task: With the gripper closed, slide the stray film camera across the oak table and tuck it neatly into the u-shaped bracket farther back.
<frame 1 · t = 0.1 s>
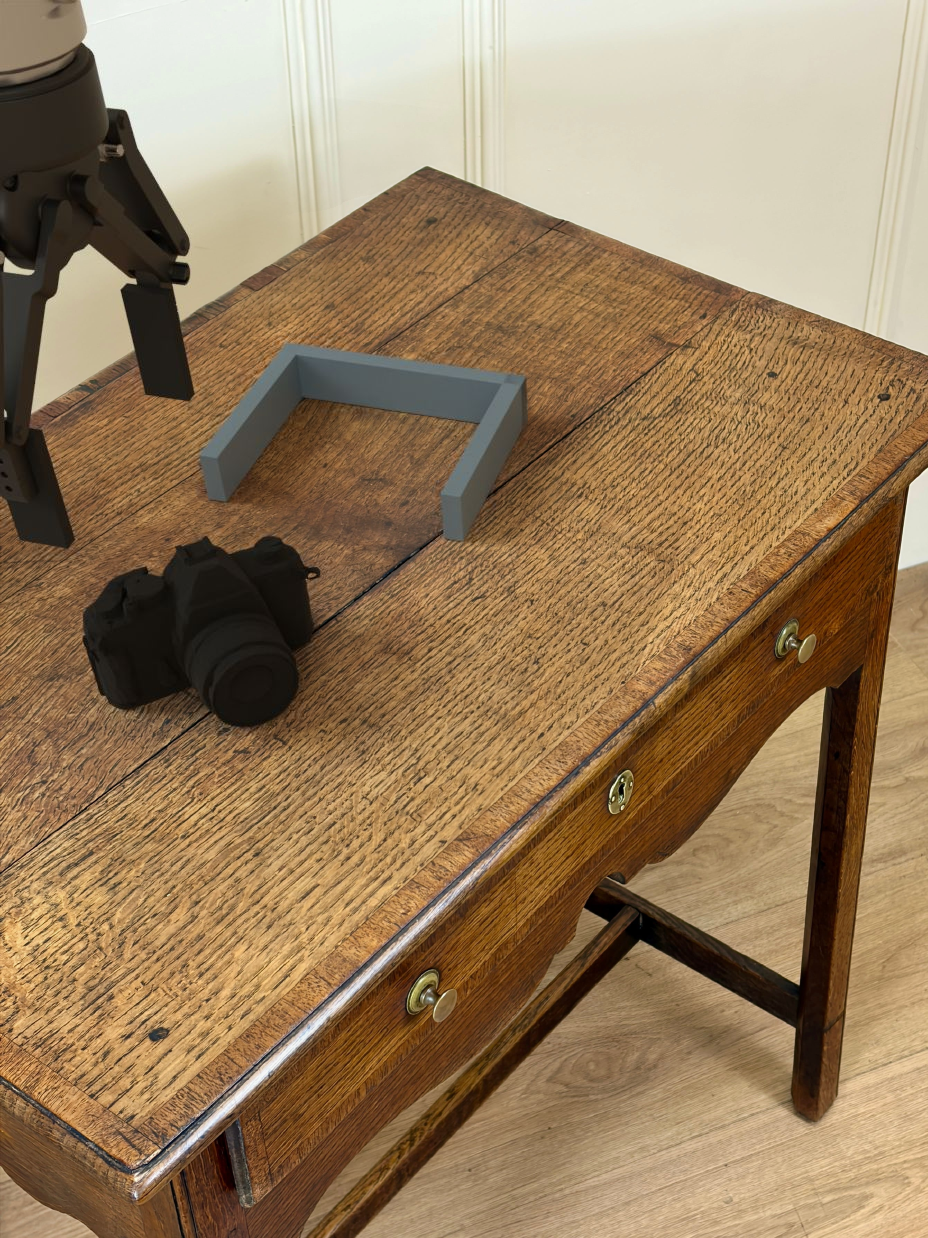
hand: (112, 463, 78), 20 cm above the table, tool pointing down, fingers open, 13 cm apart
film camera: (228, 688, 94), on the table
u-shaped bracket: (372, 458, 112), on the table
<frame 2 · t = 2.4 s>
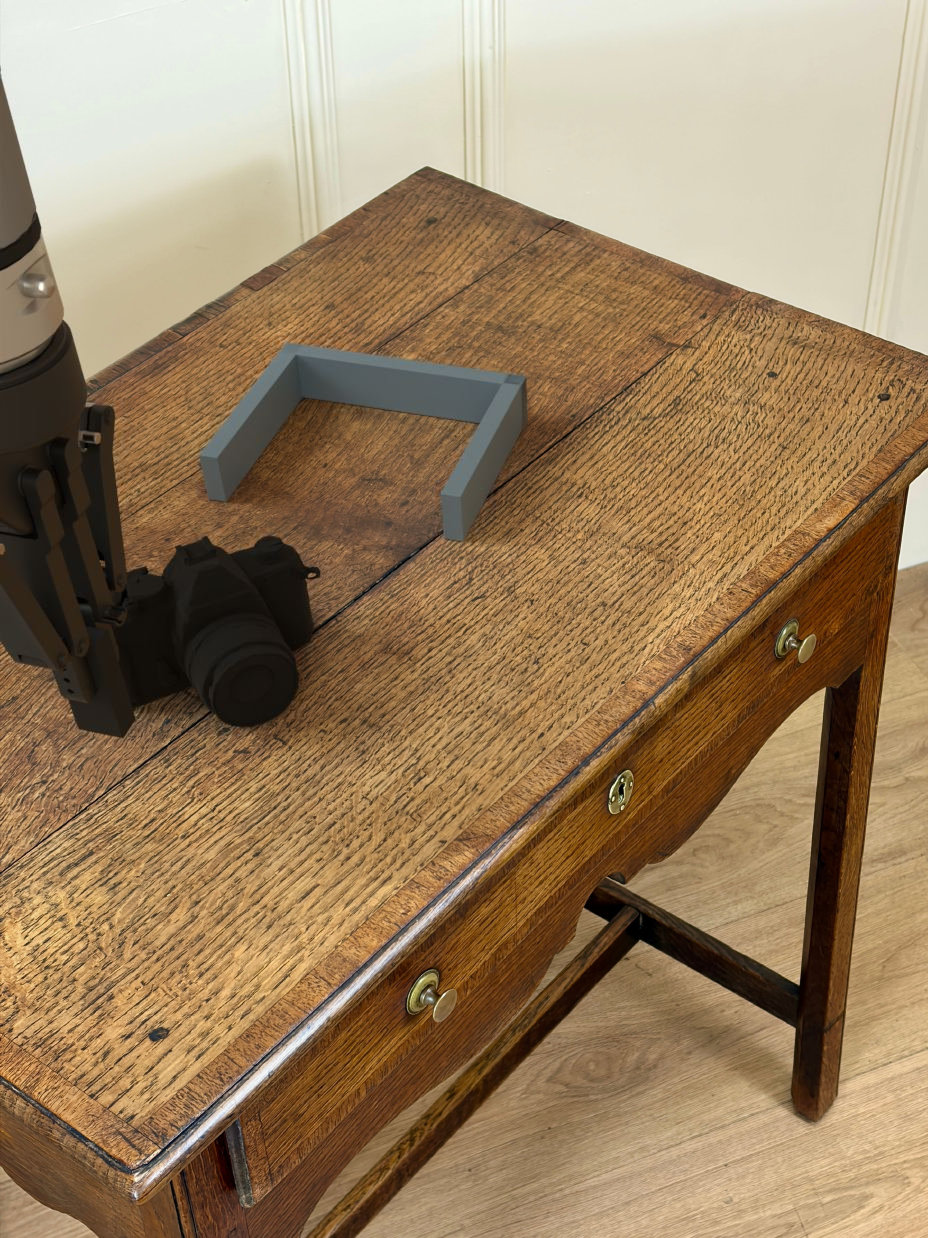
hand: (107, 724, 79), 9 cm above the table, tool pointing down, fingers closed
nothing on the table moved.
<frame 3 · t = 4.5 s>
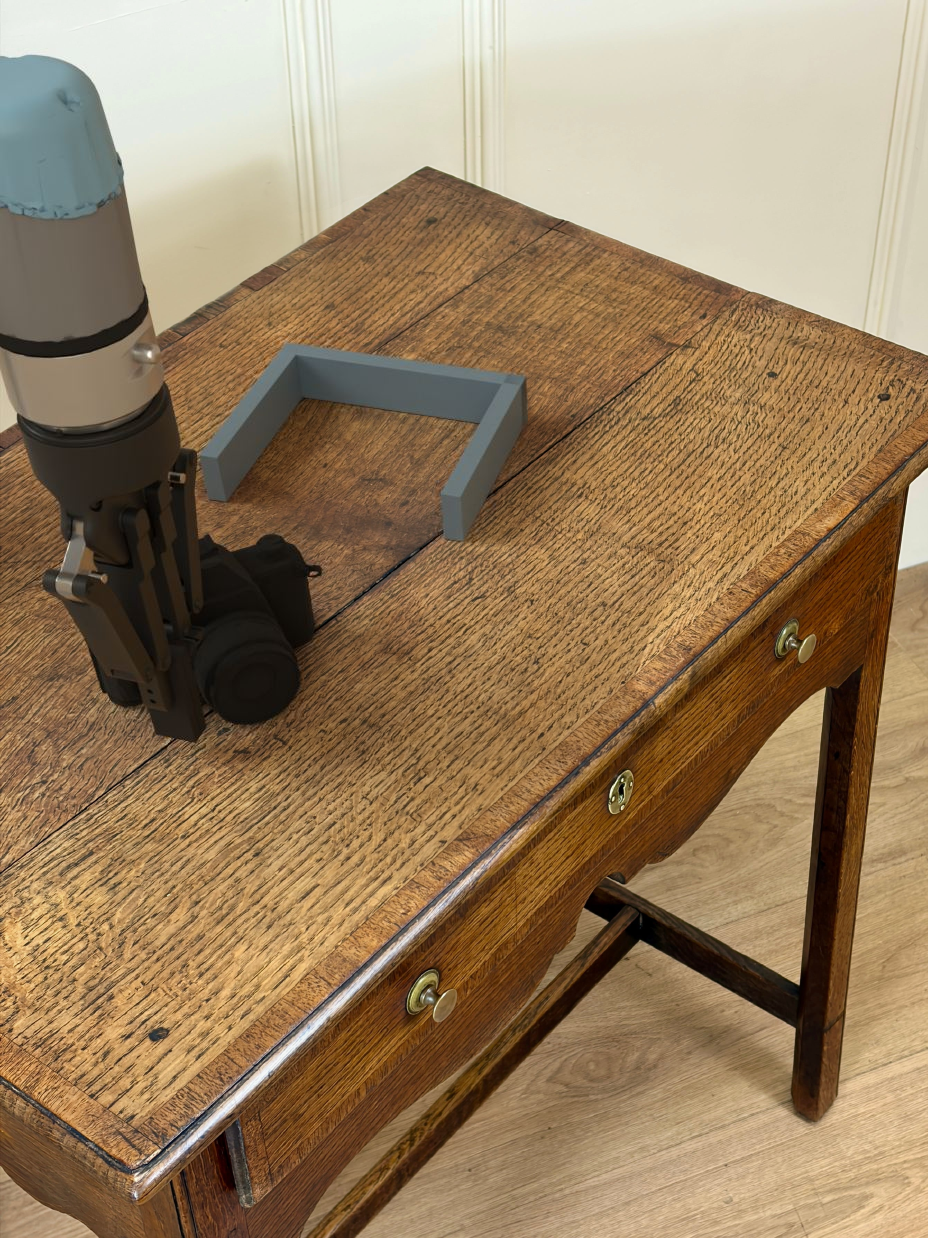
hand: (181, 730, 89), 2 cm above the table, tool pointing down, fingers closed
film camera: (230, 686, 94), on the table, touching gripper
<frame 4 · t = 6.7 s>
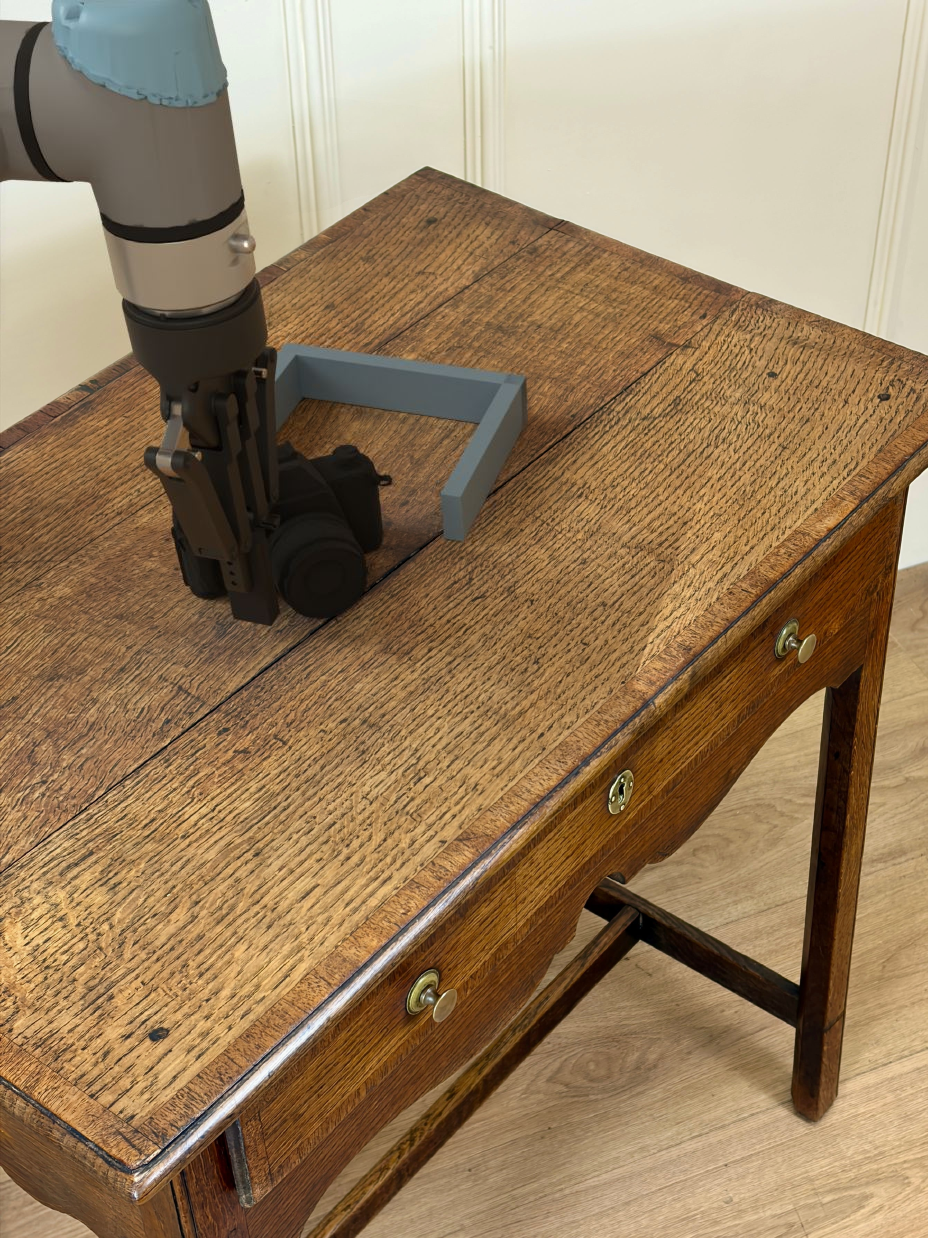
hand: (256, 615, 96), 2 cm above the table, tool pointing down, fingers closed
film camera: (302, 585, 102), on the table, touching gripper
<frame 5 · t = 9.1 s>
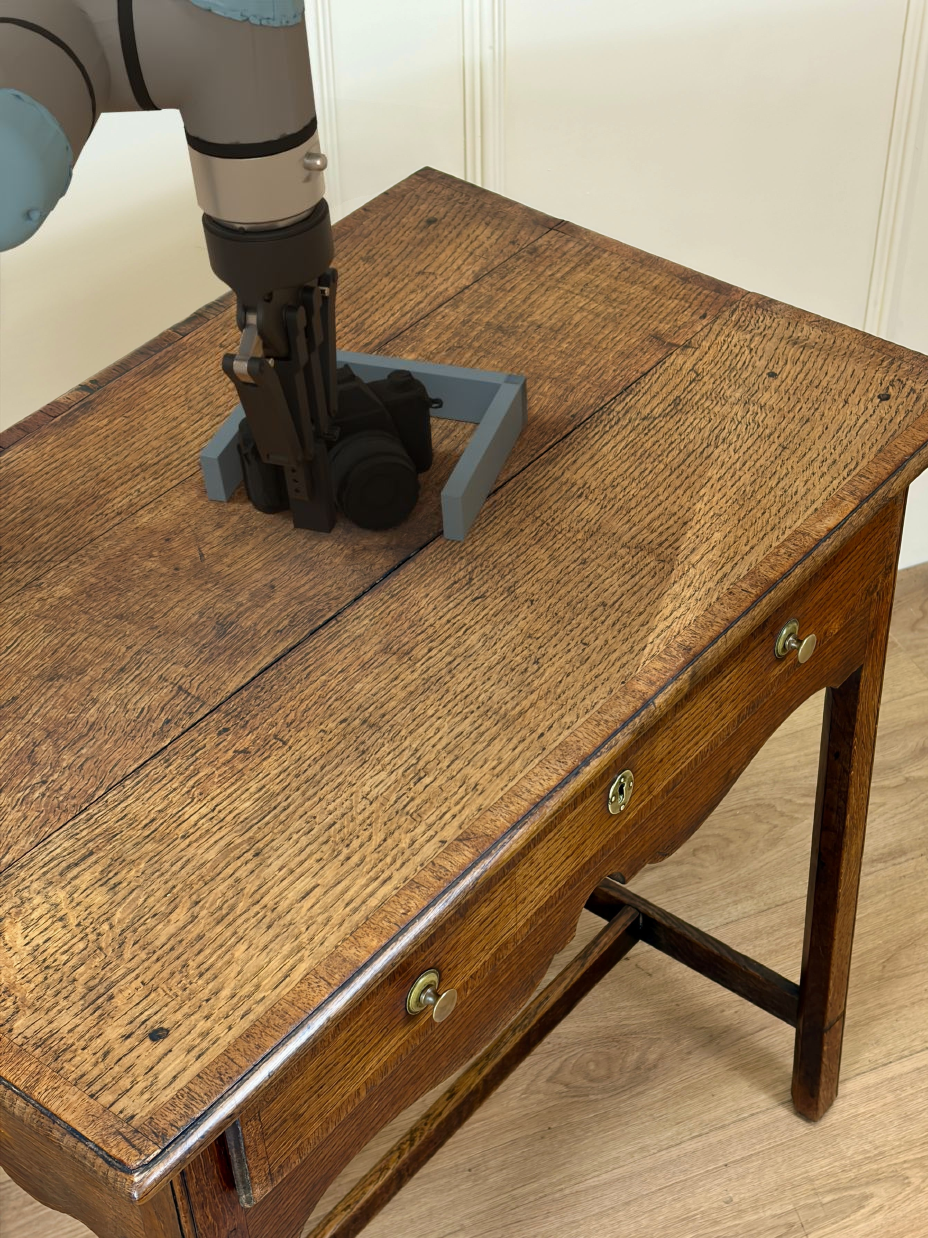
hand: (315, 524, 103), 2 cm above the table, tool pointing down, fingers closed
film camera: (357, 502, 108), on the table, touching gripper
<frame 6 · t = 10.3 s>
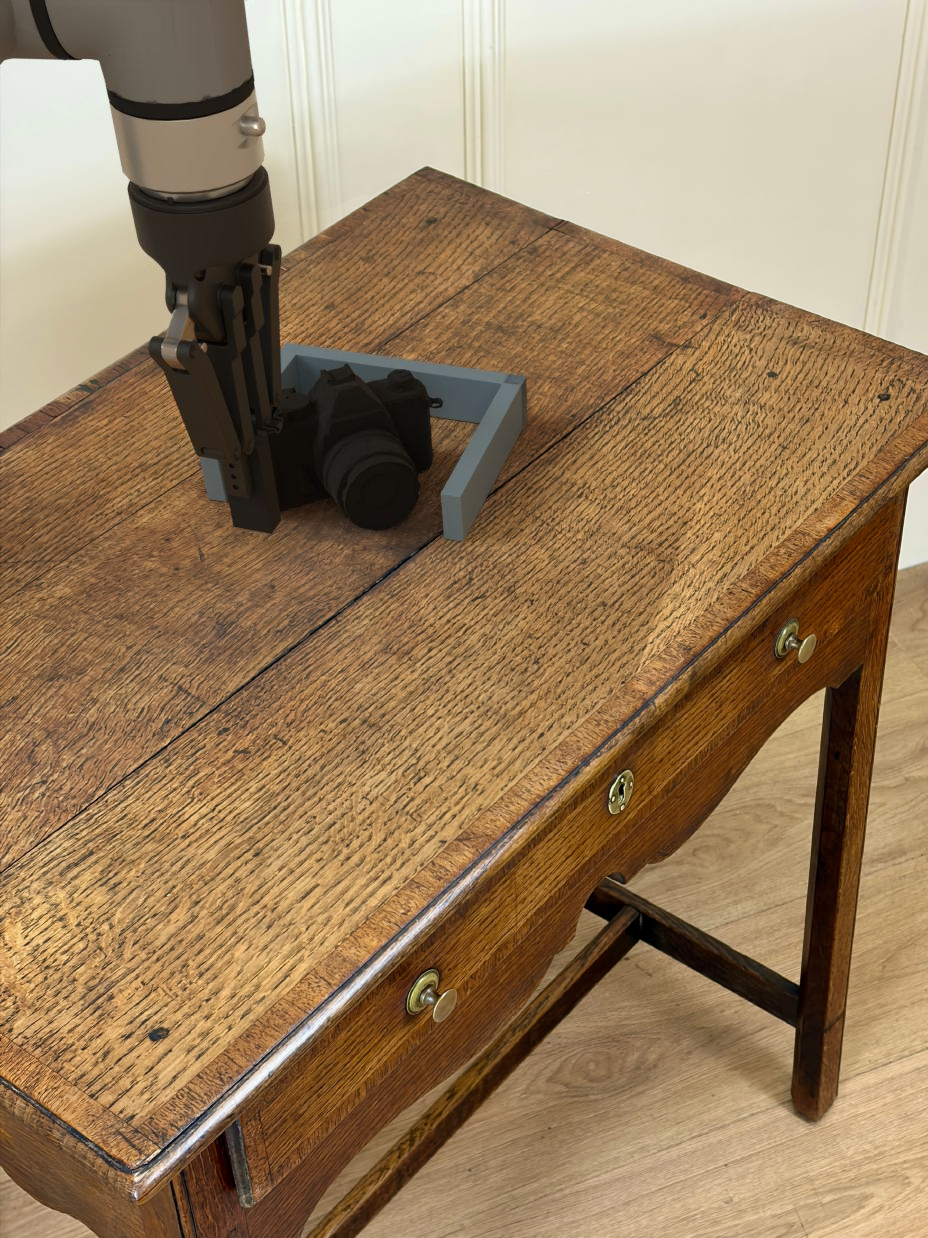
hand: (257, 523, 95), 7 cm above the table, tool pointing down, fingers closed
film camera: (357, 501, 108), on the table
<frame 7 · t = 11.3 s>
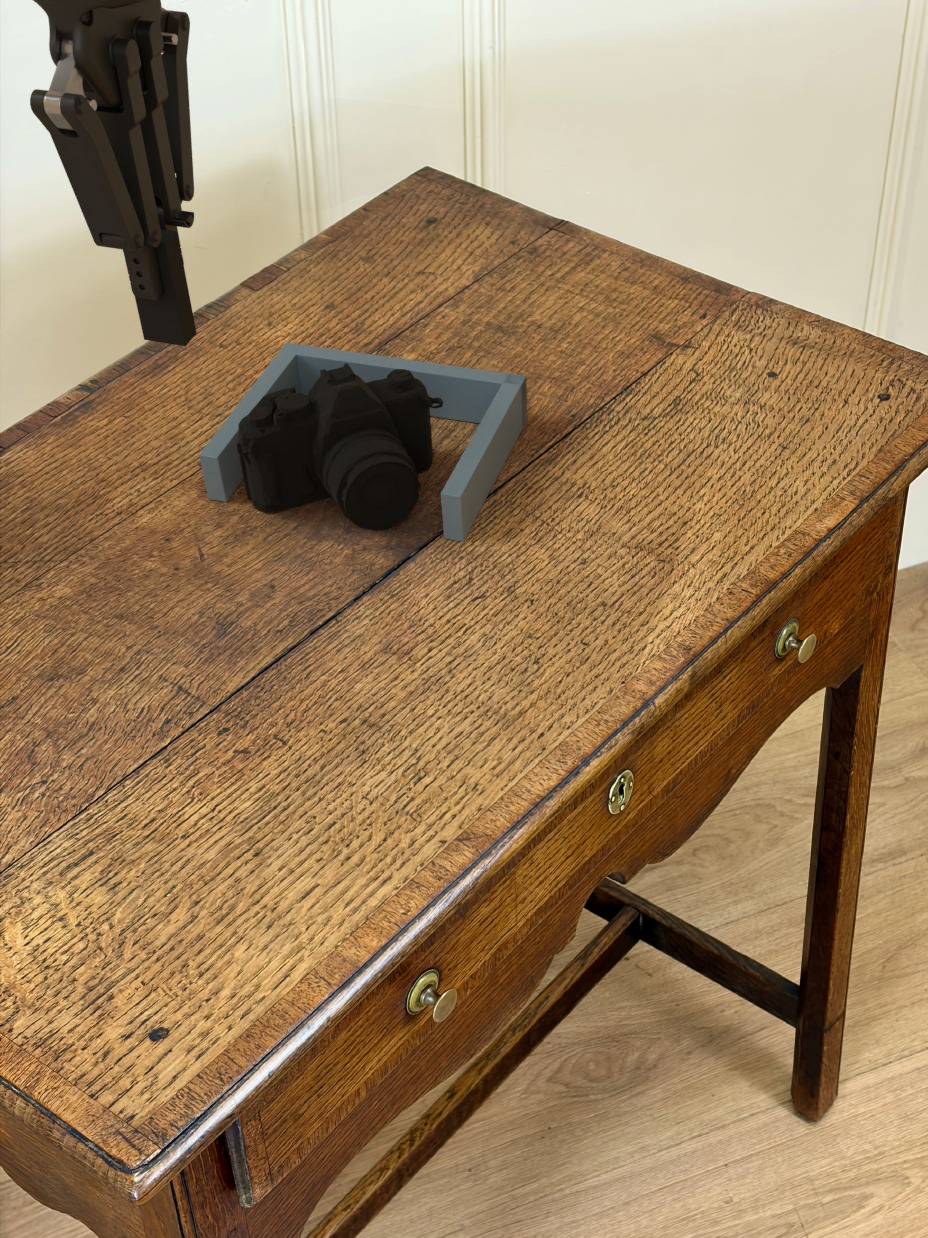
hand: (170, 336, 87), 20 cm above the table, tool pointing down, fingers closed
nothing on the table moved.
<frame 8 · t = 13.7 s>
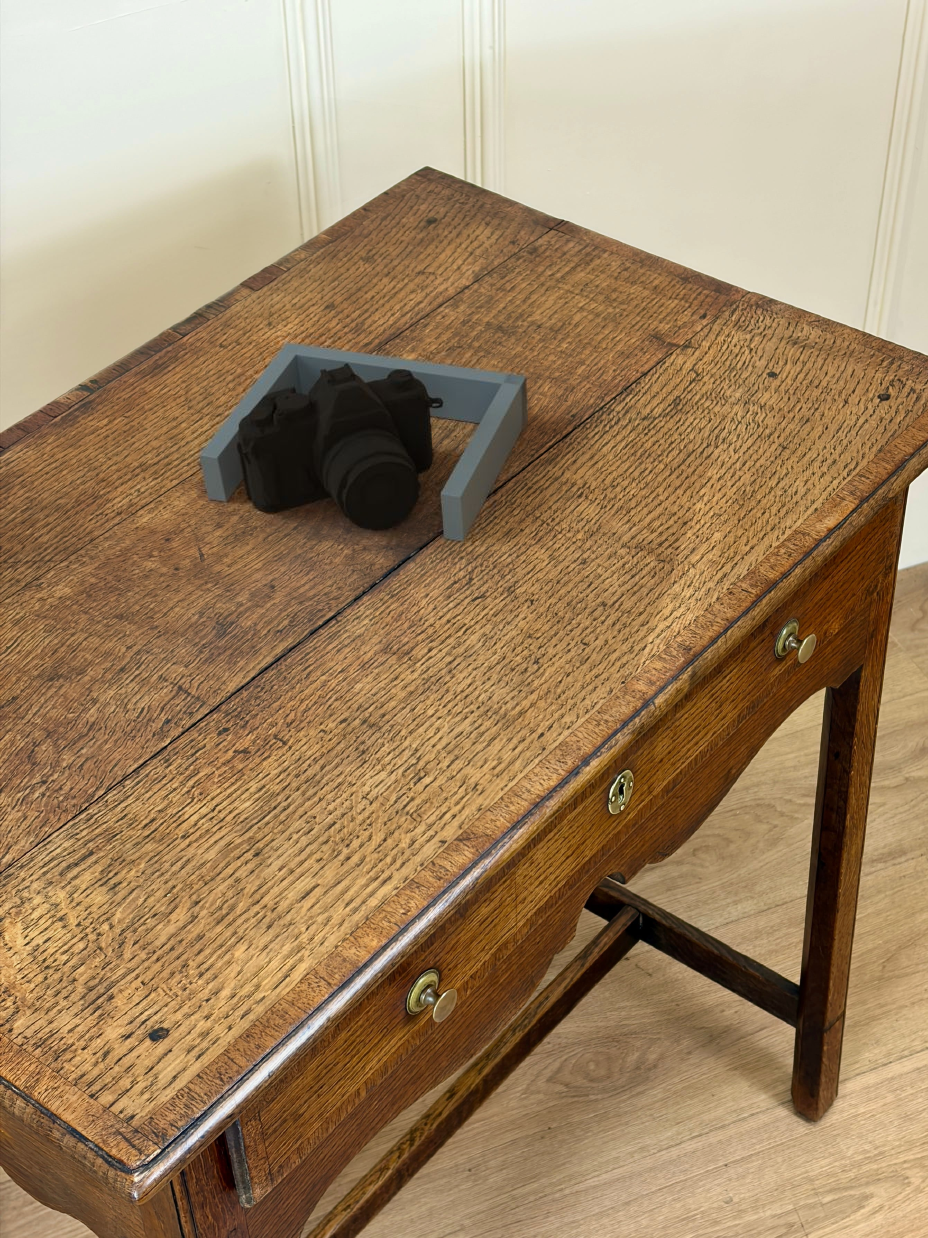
nothing on the table moved.
at the end: film camera inside the target area on the u-shaped bracket (2.8 cm from its centre), point 0.0 cm above the u-shaped bracket's base; film camera tilted 0° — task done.
